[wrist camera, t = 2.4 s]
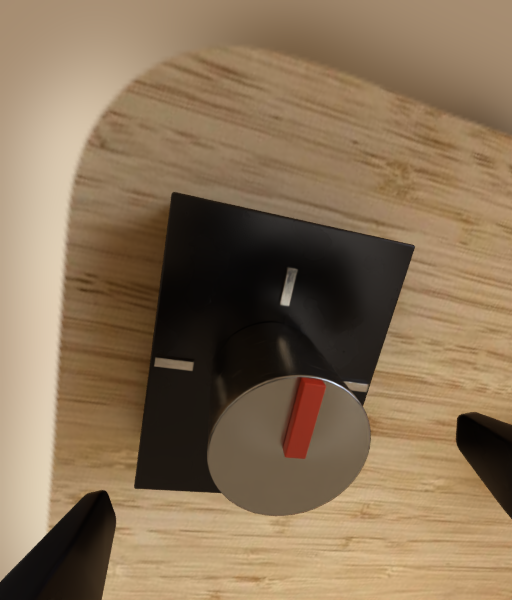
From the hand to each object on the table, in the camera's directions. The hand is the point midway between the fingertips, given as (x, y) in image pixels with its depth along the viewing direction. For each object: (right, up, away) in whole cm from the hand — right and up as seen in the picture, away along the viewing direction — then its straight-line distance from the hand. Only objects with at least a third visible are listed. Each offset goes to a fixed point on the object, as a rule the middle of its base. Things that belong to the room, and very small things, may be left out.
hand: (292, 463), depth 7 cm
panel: (-1, +2, +7) cm, 7 cm away
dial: (0, +1, +4) cm, 4 cm away
